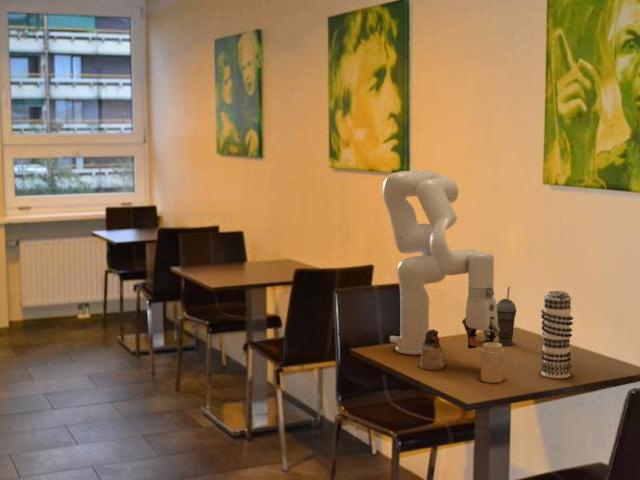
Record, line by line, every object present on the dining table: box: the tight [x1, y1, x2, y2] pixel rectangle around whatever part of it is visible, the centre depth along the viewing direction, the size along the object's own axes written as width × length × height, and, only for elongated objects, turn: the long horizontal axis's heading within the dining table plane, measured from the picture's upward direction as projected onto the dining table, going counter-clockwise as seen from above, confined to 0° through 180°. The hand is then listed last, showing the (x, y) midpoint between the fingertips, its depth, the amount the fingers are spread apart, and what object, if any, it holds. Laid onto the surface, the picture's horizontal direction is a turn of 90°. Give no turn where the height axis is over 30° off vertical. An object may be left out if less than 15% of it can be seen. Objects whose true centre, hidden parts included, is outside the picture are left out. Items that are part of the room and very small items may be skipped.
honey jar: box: [480, 341, 505, 384], centre depth 263 cm, size 7×7×11 cm
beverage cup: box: [496, 286, 517, 346], centre depth 306 cm, size 7×7×20 cm
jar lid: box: [469, 335, 486, 348], centre depth 273 cm, size 7×7×2 cm
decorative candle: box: [540, 290, 574, 379], centre depth 267 cm, size 9×9×25 cm
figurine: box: [419, 328, 445, 371], centre depth 277 cm, size 7×7×12 cm
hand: (480, 349), depth 273 cm, fingers closed on jar lid, 6 cm apart
